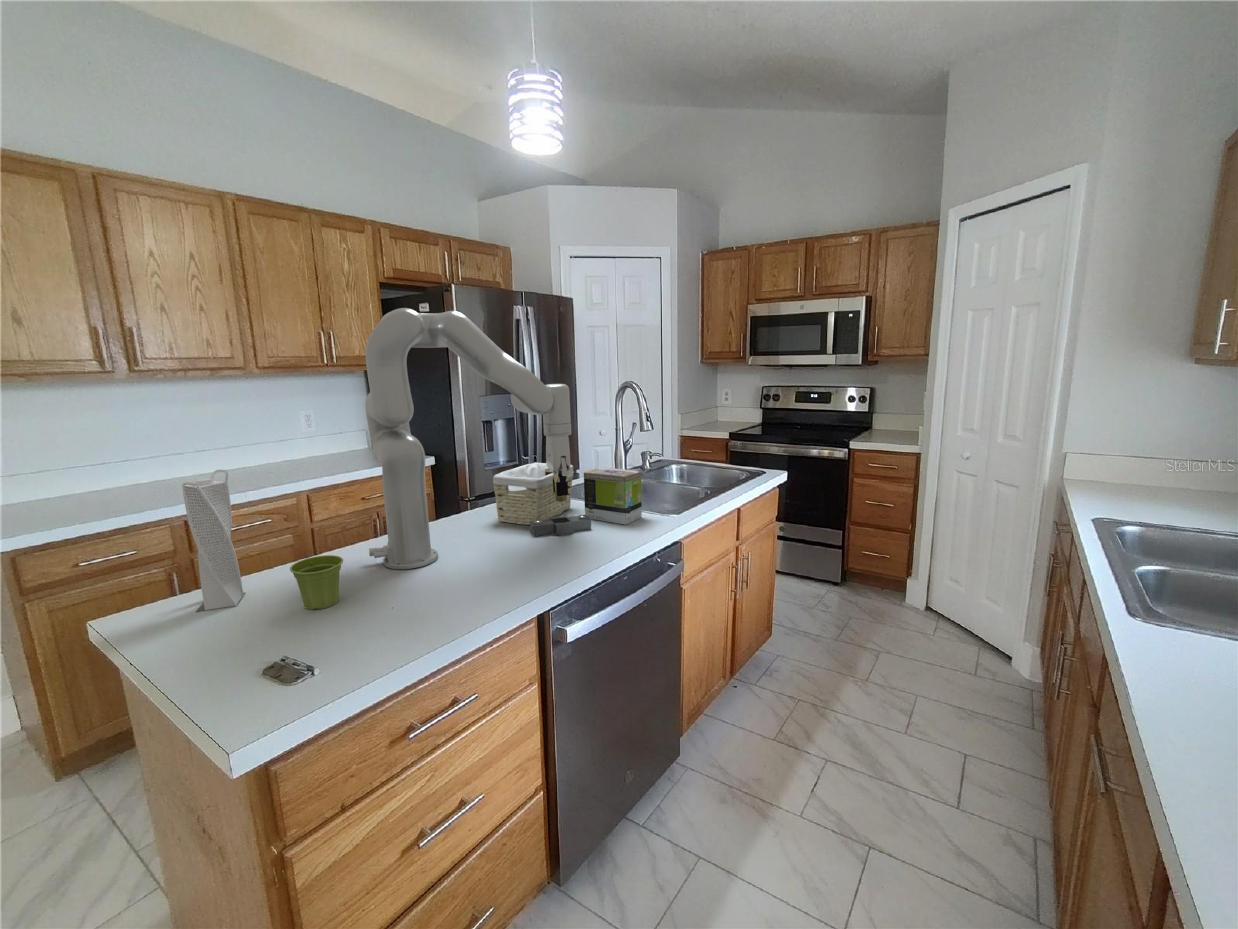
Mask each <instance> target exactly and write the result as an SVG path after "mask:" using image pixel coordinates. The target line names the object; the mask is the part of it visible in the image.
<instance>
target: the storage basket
mask: <svg viewBox="0 0 1238 929" xmlns="http://www.w3.org/2000/svg"><path fill="white" fill-rule="evenodd" d="M546 473H549V474H547V475H546ZM567 473H568V475H567V478H568V495H567V500H566V501H562V502H559V501H556V498H555V493H554V492H553V472H552V470H550V469H549V468H548V467H547V465H546V462H544V463H543V462H536V461H535V462H532V463H528V464H524V465H521V466H518V467H515V468H510V469H507V470H504V471H501V472H499V473H497V474H494V476H493V477H492V484H493V491H494V495H495V503H496V512H497V513H496V514H497V519H498V521H499V522H502V523H504V522H505V523H511V524H517V525H526V526H530V521H534V520H545V519H549V517H556V516H560V514H561V513H563V512H565V511H567V510H569V509H571V499H572V494H573V493H572V488H573V478H574V465H573V464H570V470H569V471H567Z"/></svg>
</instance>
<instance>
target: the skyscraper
mask: <svg viewBox="0 0 1238 929" xmlns="http://www.w3.org/2000/svg"><path fill="white" fill-rule="evenodd" d="M217 473H224V474H225V479H224V481H221V480H215V479H214V477H215V475H216V474H217ZM228 479H229V471H226V470H224V469H216V470H214V471H213V472H212V474H211V476H210V477H206V478H204V477H203V478H199V479H196V480H195V482H188V481H187V482H183V483H182V485H181V488H182V494H183V501H184V507H185V511H186V518H187V522H188V524H189V528H190V532H191V534H192V538H193V539H194V542H195V544H196V547H197V559H198V563H197V564H198V572H199V580H200V587H201V593H202V600H203V601H202V603H201V604H200V605H199V607H197V609H196V610H195V613H200V612H209V611H215V610H222V609H227V608H229V609H230V608H234V607H235V608H236V607H238V605H239V604H240V603H241V601H242V599H243V598H244V597H245V595H246V592H245V591H244V590H243V589H244V588H243V582H242V577H241V571H240V567H239V561H238V558H237V553H236V550H235V548H234V544H233V541H232V539H231V533H232V525H233V523H232V516H233V515H232V505H231V504H232V503H231V495H230V489H229V483H228Z"/></svg>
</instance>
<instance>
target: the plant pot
mask: <svg viewBox="0 0 1238 929" xmlns="http://www.w3.org/2000/svg"><path fill="white" fill-rule="evenodd" d="M343 563H344V558H343V557H341V556H339V555H333V554H332V555H331V554H329V555H317V556H312V557H309V558H304V559H301V560H299V561H297V562H294V563H293V564H291V566H290V567H289V570H290V572H291V573H292V575H293V577H294V578H295V579H296V582H297V586H298V589H299V592H300V595H301V598H302V602H303V605H304V607H305V609H307V610H311V611H312V610H315V609H320V610H323V609H327V608H329V607H332V606H334V605H335V604H337V602H338V600H339V594H340V593H339V592H340V571H341V568H342V564H343Z"/></svg>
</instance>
